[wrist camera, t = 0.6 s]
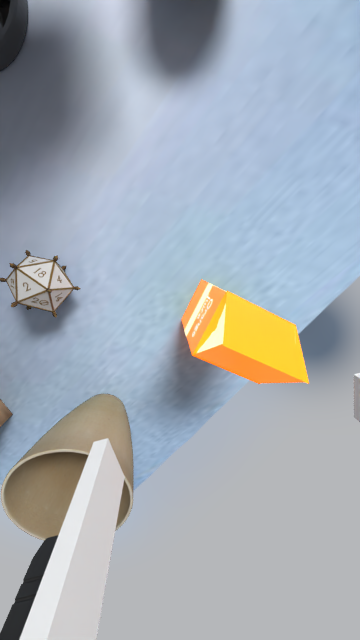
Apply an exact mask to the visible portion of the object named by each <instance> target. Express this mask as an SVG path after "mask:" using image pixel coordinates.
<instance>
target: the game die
mask: <svg viewBox="0 0 360 640" xmlns="http://www.w3.org/2000/svg"><path fill="white" fill-rule="evenodd" d="M25 253H26V255H27V257H26V258H25V259H24V260H23V261H22V262H21V263H20V264H18V265H17V266H16V265H15V264H14V263H13V264H12V263H9V264H10V267H12V268H14V270H13V271H12V272H11V274H10V275H9V276H8V278H7V279H5V278H0V281H1V282H5V281H6V282H7V284H8V286H9V288H10V290H11V292H12V294H13V296H14V298H15V300H16V302H13V303H11V304H12V305H11V307H15V306H17V304H22V305H26V306H27V307H26V308H27V310H28V309H31V307H34V308H38V309H42V310H46V311H50V312H52V313H53V316H54V317H57V314H56V312H55V311H56V309H57V308H58V307H59V306H60V305H61V304H62V302H63V301H64V300H65V299H66V298H67V296H68V295H69V294H70V293H71V292H72V291H73V289H75V290H79V289H80V288H79V287H74V286H73V285H72V283H71V281H70V280H69V278H68V277H67V275H66V273H65V272H64V270H65V269H66V266H62V267H60V266H59V264H58V263H57V262H56V261H57V260H58V256H54V258H53V260H50V259H45V258H40V257H34V256H31V255H30V254H31V253H30V252H29V251H28V250H26V252H25Z"/></svg>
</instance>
